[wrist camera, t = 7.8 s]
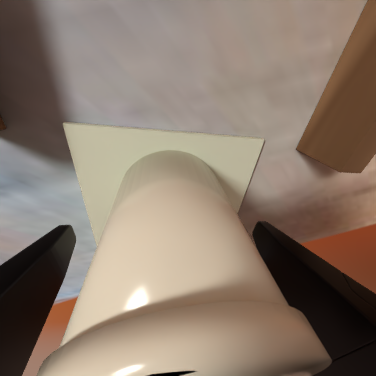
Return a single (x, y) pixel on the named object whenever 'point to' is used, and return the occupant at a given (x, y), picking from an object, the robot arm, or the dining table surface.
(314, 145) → the cradle
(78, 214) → the dining table surface
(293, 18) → the dining table surface
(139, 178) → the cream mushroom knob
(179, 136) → the pad
